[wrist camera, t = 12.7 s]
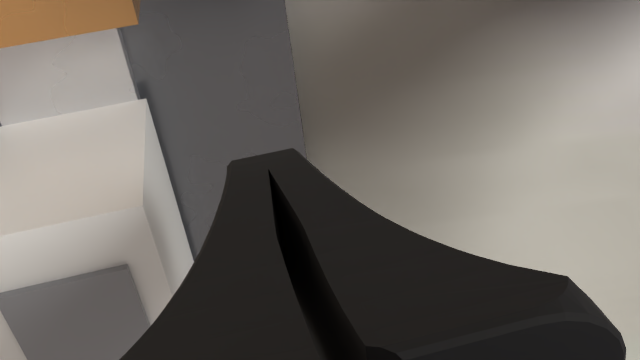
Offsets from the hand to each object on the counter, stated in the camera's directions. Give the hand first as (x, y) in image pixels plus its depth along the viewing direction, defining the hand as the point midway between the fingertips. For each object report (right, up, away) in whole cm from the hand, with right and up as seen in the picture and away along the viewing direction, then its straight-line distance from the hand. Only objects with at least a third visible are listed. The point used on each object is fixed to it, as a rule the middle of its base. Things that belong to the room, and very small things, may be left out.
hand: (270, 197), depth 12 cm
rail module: (-6, -1, +8) cm, 11 cm away
